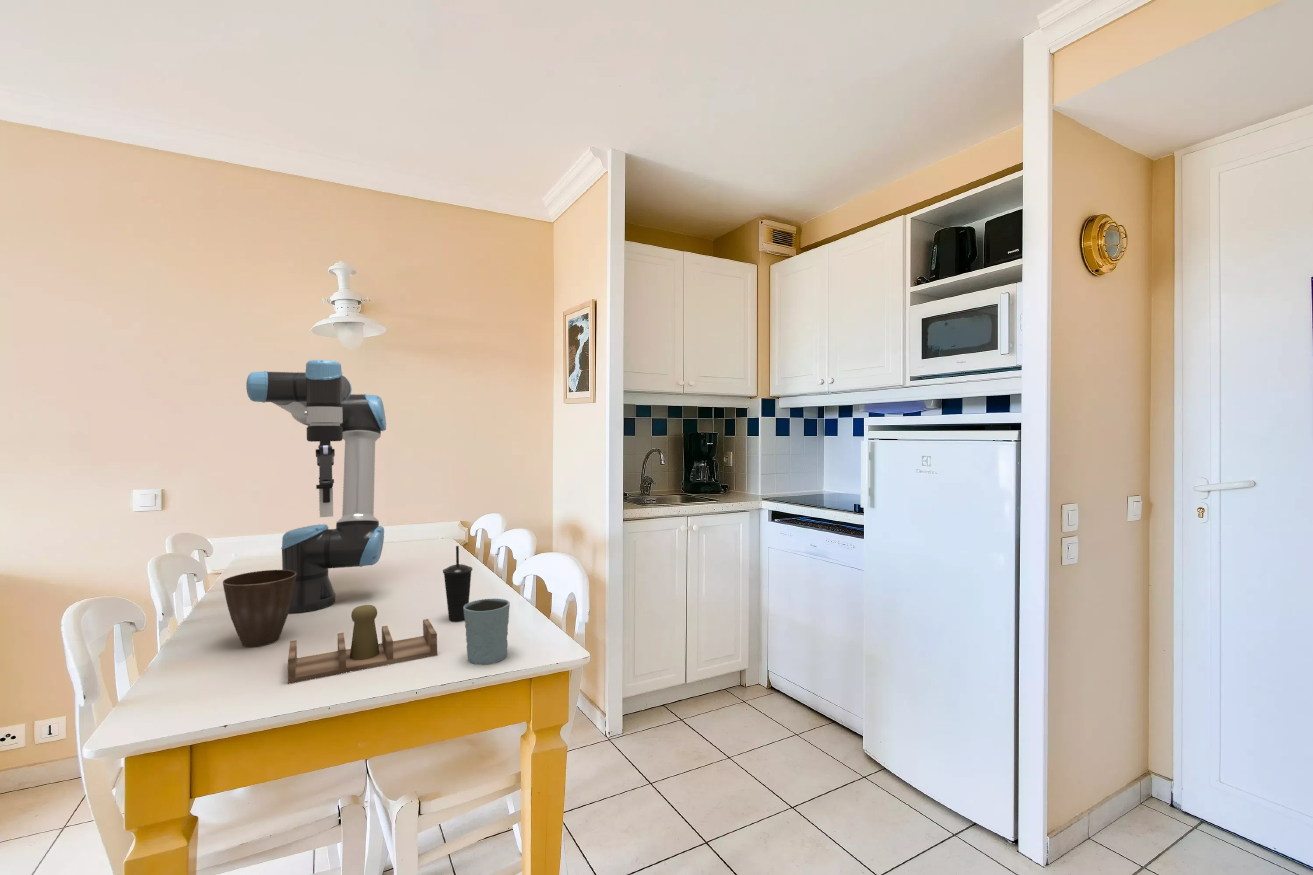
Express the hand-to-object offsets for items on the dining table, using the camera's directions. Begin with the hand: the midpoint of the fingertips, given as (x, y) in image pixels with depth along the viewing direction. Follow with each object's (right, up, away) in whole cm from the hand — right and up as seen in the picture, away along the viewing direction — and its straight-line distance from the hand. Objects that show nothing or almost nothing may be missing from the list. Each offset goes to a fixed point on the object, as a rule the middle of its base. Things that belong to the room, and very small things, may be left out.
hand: (326, 513), depth 140 cm
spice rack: (+14, -32, -9) cm, 36 cm away
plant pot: (-17, -32, +3) cm, 37 cm away
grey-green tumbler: (+41, -32, -8) cm, 53 cm away
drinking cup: (+25, -32, +19) cm, 45 cm away
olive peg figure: (+14, -31, -9) cm, 35 cm away
